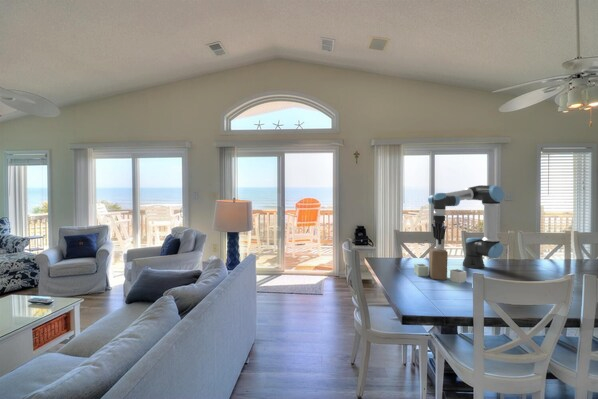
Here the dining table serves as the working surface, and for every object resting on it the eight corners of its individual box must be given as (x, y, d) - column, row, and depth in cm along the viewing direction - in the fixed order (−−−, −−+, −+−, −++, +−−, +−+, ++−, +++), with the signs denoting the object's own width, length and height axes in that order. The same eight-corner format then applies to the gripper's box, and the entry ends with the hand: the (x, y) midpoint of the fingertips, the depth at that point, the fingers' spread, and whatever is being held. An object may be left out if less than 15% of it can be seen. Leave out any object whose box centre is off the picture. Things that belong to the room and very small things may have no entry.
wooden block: (447, 280, 210) (448, 251, 209) (431, 279, 212) (432, 250, 211) (443, 276, 220) (444, 248, 219) (428, 275, 222) (429, 247, 221)
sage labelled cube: (423, 273, 227) (423, 263, 226) (427, 276, 220) (428, 266, 219) (414, 273, 226) (414, 263, 226) (418, 276, 219) (418, 266, 219)
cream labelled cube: (456, 278, 214) (456, 268, 213) (466, 281, 207) (466, 271, 207) (450, 280, 210) (450, 269, 210) (459, 283, 204) (459, 272, 204)
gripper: (428, 214, 219) (427, 247, 220) (440, 216, 206) (439, 250, 207) (437, 214, 221) (436, 246, 222) (450, 215, 208) (449, 250, 209)
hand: (438, 248), depth 215 cm, fingers closed
